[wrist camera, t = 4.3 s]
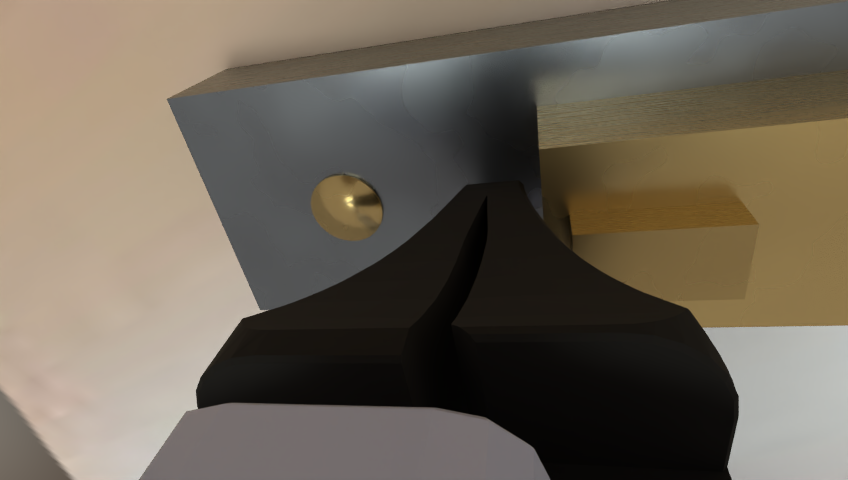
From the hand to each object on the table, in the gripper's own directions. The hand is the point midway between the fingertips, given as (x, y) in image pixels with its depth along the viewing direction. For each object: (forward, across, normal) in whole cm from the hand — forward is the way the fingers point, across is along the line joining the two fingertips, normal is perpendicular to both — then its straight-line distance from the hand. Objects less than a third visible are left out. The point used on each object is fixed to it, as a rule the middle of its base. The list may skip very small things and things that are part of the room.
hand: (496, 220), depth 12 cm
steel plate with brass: (+4, -2, 0) cm, 5 cm away
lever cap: (+1, -5, 0) cm, 5 cm away
